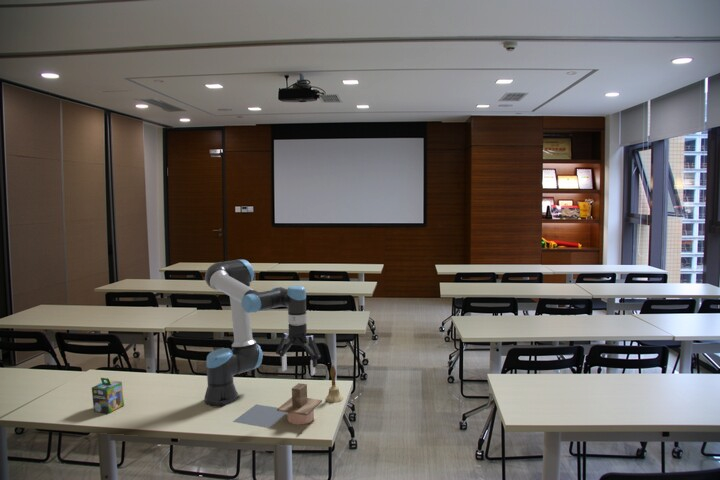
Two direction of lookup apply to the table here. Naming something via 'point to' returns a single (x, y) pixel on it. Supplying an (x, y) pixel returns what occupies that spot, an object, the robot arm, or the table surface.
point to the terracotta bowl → (300, 418)
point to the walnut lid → (299, 401)
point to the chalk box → (107, 396)
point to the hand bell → (333, 389)
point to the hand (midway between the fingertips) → (298, 372)
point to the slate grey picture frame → (261, 416)
